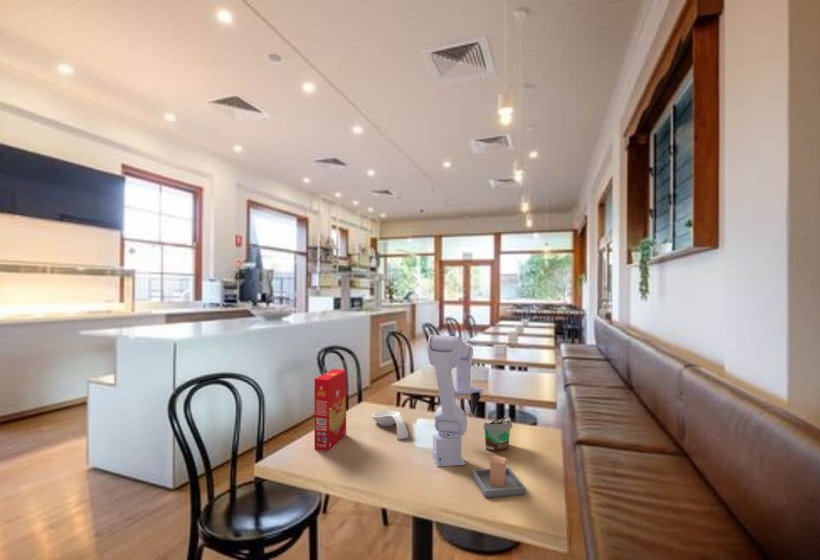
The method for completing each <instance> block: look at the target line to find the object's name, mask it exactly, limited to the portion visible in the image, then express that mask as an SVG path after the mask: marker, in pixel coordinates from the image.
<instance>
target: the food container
mask: <svg viewBox="0 0 820 560" xmlns="http://www.w3.org/2000/svg"><path fill="white" fill-rule="evenodd" d="M512 428H513V423H512V420H511V418H510V417H509V416H507V415H504V416H503V418H500V419H495V420H493V421H491V422H490V423H487V422H485V421H484V424H483V430H484V437H485V438H484V439H485V440H484V441H485V451H488V452H492V453H503V452H506V451H508V450H509V445H510V444H509V443H510V433H511V429H512Z"/></svg>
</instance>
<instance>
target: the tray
mask: <svg viewBox="0 0 820 560" xmlns="http://www.w3.org/2000/svg"><path fill="white" fill-rule="evenodd" d="M471 477H472V478H473V481H474V482H475V484H476V485H477V487H478V489H479V490H480V492H481V494H482V495H483V497H484V499H493V498H503V497H505V498H506V497H517V496H518V497H519V496H526V495H527V487H526V486H525V485H524V484H523V482H522V481H521V480H520V479H519V477H518V476H517V475H516V474H515V472H514V471H513V469H511V468H510V467H509V466H508V467H506V482H505V486H504V488H503V487H497V486H492V485H490V468H480V469H472V470H471Z"/></svg>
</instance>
